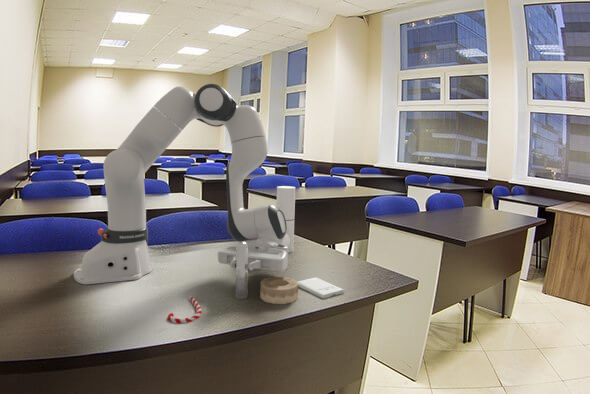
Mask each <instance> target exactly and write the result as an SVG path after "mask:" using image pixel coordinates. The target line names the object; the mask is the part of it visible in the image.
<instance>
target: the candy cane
mask: <svg viewBox="0 0 590 394" xmlns="http://www.w3.org/2000/svg"><path fill="white" fill-rule="evenodd" d="M188 300H189V301H190V302H191V304H192V305H193V307H194V308H195V312H196V313H195V314H193V315H192V316H190V317H185V318H176V317H174V315H175V314H174V313H173V312H170V313H169V314H168V315H167V321H169V322H170V321H171V322H170V323H173V322H174V324H187V323H192V322H194V321H197V320H198V319H199V318H200V317H201V316H202V308H201V305H200V303H199V302H198V301H197V300H196V299H195V297H194V296H189V299H188Z"/></svg>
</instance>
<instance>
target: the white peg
mask: <svg viewBox="0 0 590 394" xmlns="http://www.w3.org/2000/svg"><path fill="white" fill-rule="evenodd" d="M248 245H249V244H248V243H247V242H246V241H242V242H239V241H238V243H237V244H236V246H235V247H236V268H235V298H236V299H238V300H245V299H246V300H247V298H248V296H249V295H248V293H249V291H248V289H249V288H248V286H249V285H248V284H249V283H248V282H249V281H248V280H249V278H248V277H249V270H246V263H248Z"/></svg>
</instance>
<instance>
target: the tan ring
mask: <svg viewBox="0 0 590 394" xmlns="http://www.w3.org/2000/svg"><path fill="white" fill-rule="evenodd" d="M260 299H261V300H262V301H263V302H265V303H269V304H273V305H286V304H292V303H294V302H295V301H297V300H298V299H299V287H298V280H297V279H296V280H295V279H294V278H292V277H287V276H271V277H266V278H264V279H261V281H260Z"/></svg>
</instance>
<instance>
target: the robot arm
mask: <svg viewBox="0 0 590 394" xmlns="http://www.w3.org/2000/svg"><path fill="white" fill-rule="evenodd" d="M195 119H196V120H197V121H199V122H202V123H203V124H206V125H208V126H210V127H215V128H217V127H223V126H224V127H225V128H226V129H227V131H228V135H229V139H230V145H231V156H230V160H229V162H228V163H227V164H226V168H225V169H226V171H225V178H226V179H225V182H226V199H227V201H226V202H227V218H226V228H227V229H226V230H227V232H228V234H229V235H230V237H231V238H233V239H234V240H236V241H237V242H238V243H239V242H242V241H243V242H246V241H249V240H251V239H255V240H253V241H251V242H250V243H249V244H247V245H248V263H246V270H248V271H252V270H257V269H258V270H265V271H272V272H284V271H285V270H286V269H287V268H288V264H289V253H288V249H289V245H290V240H289V237H288V235H287V234H286V230H287V227H286V220H285V217H284V214H283V212H282V211H281V210H280V209H279V208H278V207H276V205H275V204H273V203H271V204H264V205H260V206H256V207H252V208H247V209H246V208H245V207H244V194H243V193H244V191H243V184H244V180H245V179H246V178H247V177H248V176H249V175H250V174H251V173H253V172H254V171H255V170H256V169H258V168H259V167H260V166H261V165H262V164H263V163H264V162H265V160H266V158H267V155H268V152H269V151H268V142H267V138H266V134H265V129H264V126H263V123H262V120H261V118H260V116H259V113H258V111H257V109H256V108H255V107H253V106H252V105H247V104H242V105H238V104H237V101H236V100H235V99H234V98H233V97H232V96H231V94H230V93H229V92H228V91H227V90H226V89H225V88H224V87H223V86H221V85H218V84H217V83H207V84H204V85H203V86H201V87H200V88H198V90H197V91H196V93H194V92H193V91H192V90H190V89H188V88H187V87H185V86H175V87H173V88H172V89H170V90H169V91H168V92H167V93H165V94H164V95H163V96H162V97H161V98H160V99H159V100H157V102H155V104H154V105H153V106H152V107H151V109H149V110H148V112H147V113H146V114H145V115H144V117H143V118H141V120H140V121H139V122H138V123H137V124H136V125H135V127H134V128H133V129H132V131H131V132H130V133H129V134H128V135H127V137H126V138H125V140H124V141H123V142H122V143H121V144H120V145H119V147H117V149H115V150H112V151H111V152H110V153H108V154H107V155H106V157H105V159H104V161H103V177H104V178H103V179H104V187H105V194H106V195H105V196H106V201H107V203H106V204H107V226H108V227H107V228H106V229H103V228H98V230H97V235H99V236H100V237H101V241H100V242H99V243H97V244H96V245H95V246H93V247H92V248H91V249H89V250H88V251H87V252H85V254H84V255H83V257H82V260H81V261H82V262H81V268H77V269H76V270H75V271H74V272H73V279H74V281H75V282H77V283H79V284H82V285H93V284H94V285H95V284H102V283H104V284H105V283H114V282H124V281H134V280H135V281H136V280H139V279H140V278H142V277H143V276H145V275H147V274H149V273H151V272H152V270H153V267H152V263H151V260H150V255H149V250H148V245H149V244H148V243H149V229H148V226H147V204H146V203H147V202H146V191H145V189H146V188H145V187H146V186H145V174H146V173H147V171H148V170H149V169H150V167H152V166H153V165H154V163H155V162H156V161H157V160H158V159H159V158H160V156H162V154H163V153H164V152H165V151H166V150H167V149H168V147H169V146H170V145H171V144H172V143H173V141H174V140H175V139H176V138H177V137H178V136H179V135H180V134H181V132H182V131H183V130H184V129H185V128H186V126H187V125H188V124H189V123H191V121H193V120H195ZM217 260H218V261H217V262H218V263H219V264H223V265H230V268H233V269H236V246H228V247H225V248H222V249H219V250H218V251H217Z"/></svg>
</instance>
